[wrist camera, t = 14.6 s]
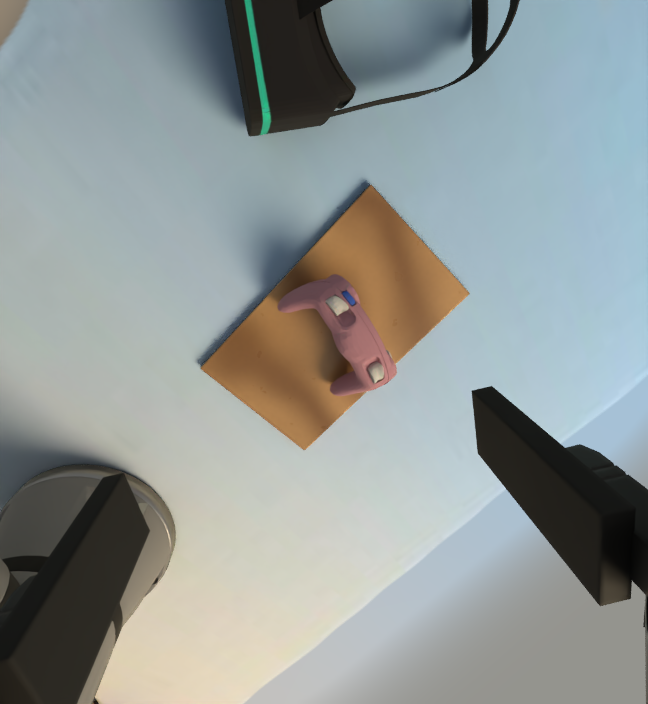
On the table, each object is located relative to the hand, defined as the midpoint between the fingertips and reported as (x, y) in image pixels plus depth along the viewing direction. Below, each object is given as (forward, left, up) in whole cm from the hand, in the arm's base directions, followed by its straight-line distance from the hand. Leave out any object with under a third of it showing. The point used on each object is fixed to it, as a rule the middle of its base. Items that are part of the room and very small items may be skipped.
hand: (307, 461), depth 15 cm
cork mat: (+3, -1, -20) cm, 20 cm away
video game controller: (+3, -1, -20) cm, 20 cm away
